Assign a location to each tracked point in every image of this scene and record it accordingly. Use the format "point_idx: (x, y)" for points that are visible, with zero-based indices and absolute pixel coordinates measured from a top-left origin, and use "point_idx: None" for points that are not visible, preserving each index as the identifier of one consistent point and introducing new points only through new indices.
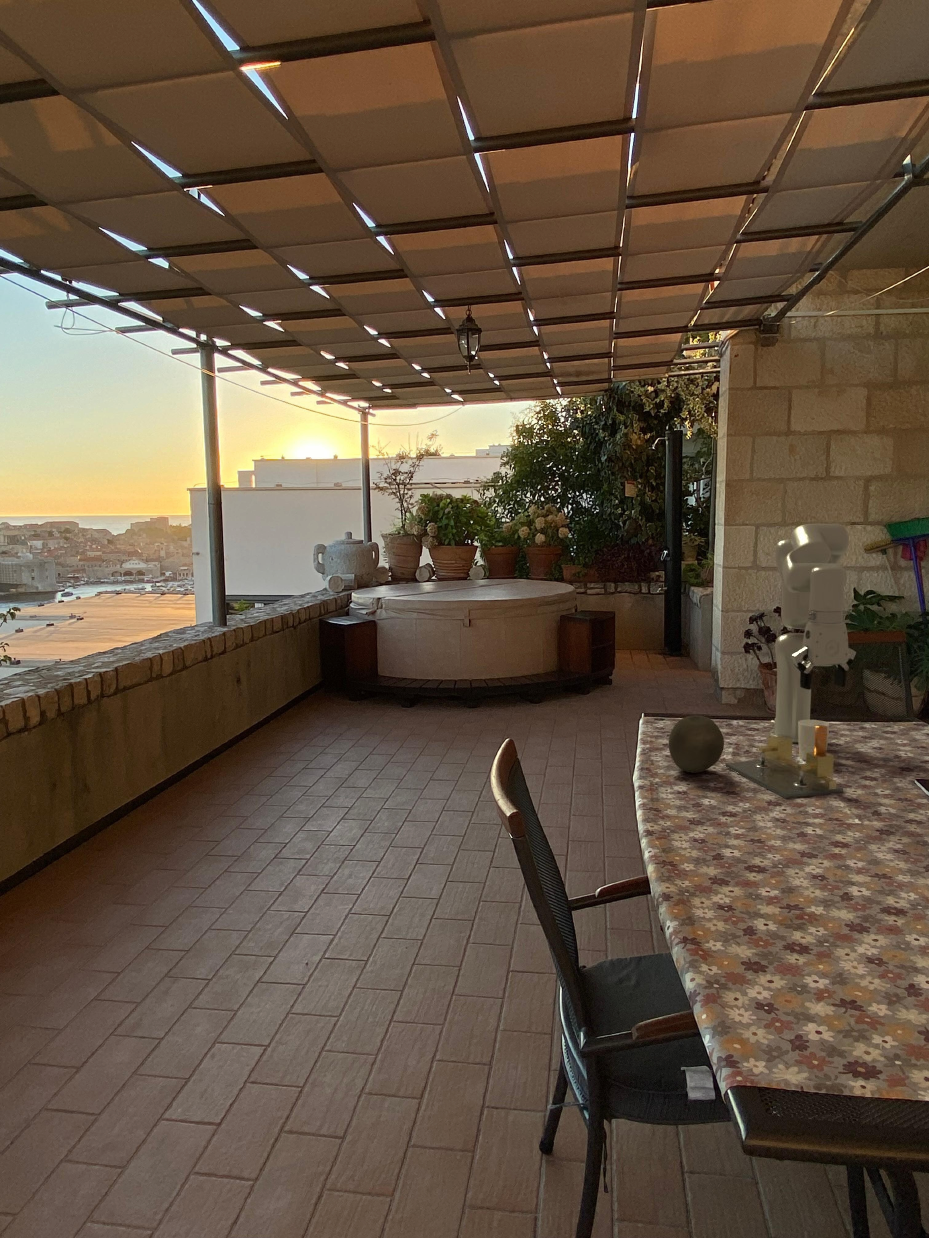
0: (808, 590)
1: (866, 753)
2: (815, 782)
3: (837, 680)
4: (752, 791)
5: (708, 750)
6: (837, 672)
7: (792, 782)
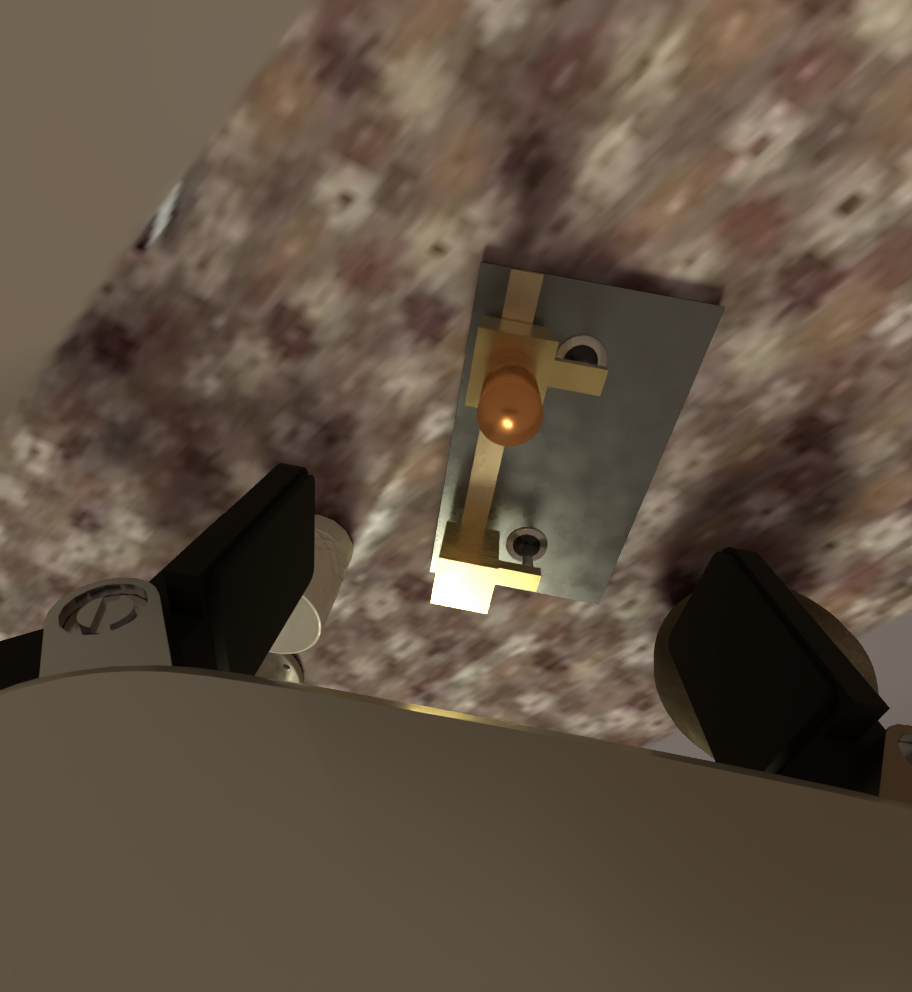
0: None
1: (143, 506)
2: None
3: (294, 569)
4: (738, 413)
5: (813, 605)
6: (250, 642)
7: (584, 394)
